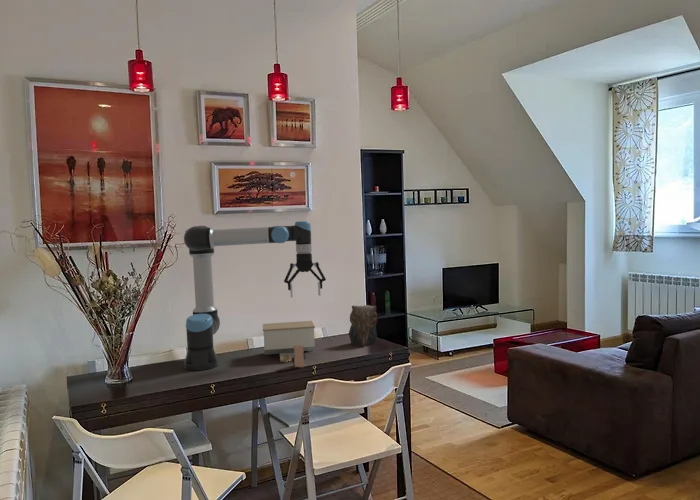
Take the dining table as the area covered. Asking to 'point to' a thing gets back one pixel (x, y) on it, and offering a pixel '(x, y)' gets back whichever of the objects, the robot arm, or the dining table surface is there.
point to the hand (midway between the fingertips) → (305, 296)
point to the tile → (285, 358)
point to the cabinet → (288, 336)
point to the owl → (363, 325)
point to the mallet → (296, 356)
